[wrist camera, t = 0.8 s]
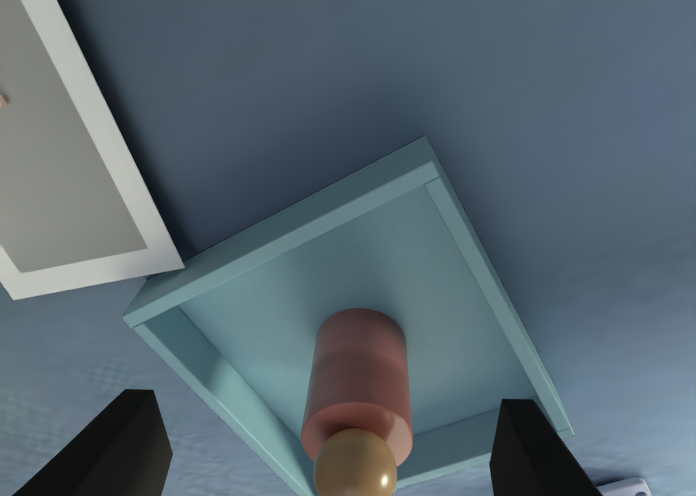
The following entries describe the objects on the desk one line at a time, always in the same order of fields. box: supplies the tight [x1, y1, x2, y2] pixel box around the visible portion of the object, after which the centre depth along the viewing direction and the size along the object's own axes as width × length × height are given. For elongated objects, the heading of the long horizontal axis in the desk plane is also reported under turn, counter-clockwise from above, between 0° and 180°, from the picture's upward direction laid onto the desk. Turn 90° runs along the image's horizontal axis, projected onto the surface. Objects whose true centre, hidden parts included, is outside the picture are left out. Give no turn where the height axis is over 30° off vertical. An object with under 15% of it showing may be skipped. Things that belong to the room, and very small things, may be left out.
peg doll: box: [301, 308, 413, 496], centre depth 19 cm, size 4×4×8 cm
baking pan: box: [121, 136, 574, 496], centre depth 21 cm, size 14×13×2 cm
